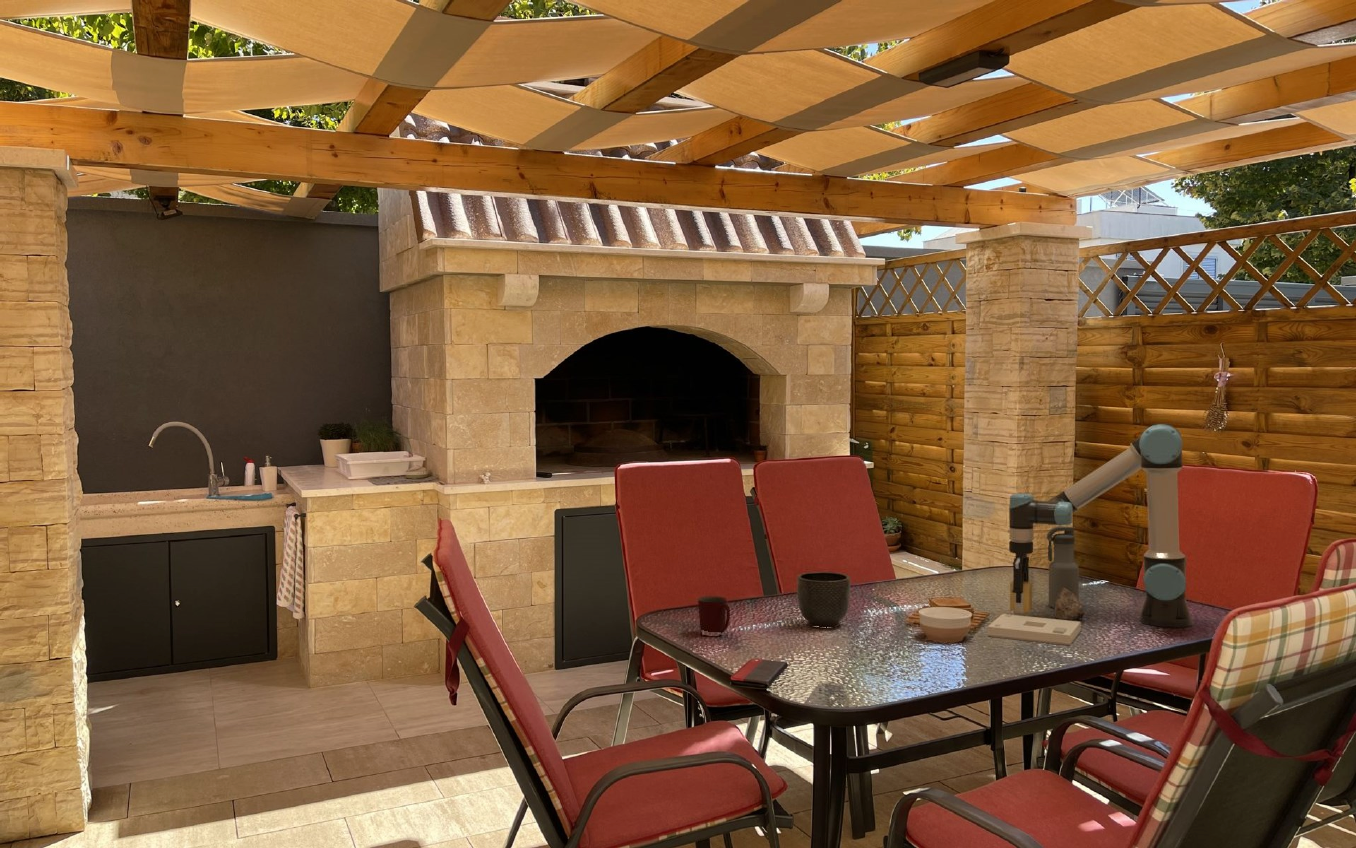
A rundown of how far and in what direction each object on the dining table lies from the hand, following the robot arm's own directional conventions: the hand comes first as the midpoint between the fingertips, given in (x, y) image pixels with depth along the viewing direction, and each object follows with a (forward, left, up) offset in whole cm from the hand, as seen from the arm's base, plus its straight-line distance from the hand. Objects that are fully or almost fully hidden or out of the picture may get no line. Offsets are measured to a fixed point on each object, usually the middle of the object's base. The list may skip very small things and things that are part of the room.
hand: (1020, 610), depth 338 cm
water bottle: (-9, -25, -3) cm, 27 cm away
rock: (-13, -6, -3) cm, 15 cm away
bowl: (+15, +37, -3) cm, 40 cm away
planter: (+54, +39, -3) cm, 67 cm away
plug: (0, 0, -3) cm, 3 cm away
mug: (+79, +67, -3) cm, 103 cm away
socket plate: (-8, +19, -3) cm, 21 cm away
